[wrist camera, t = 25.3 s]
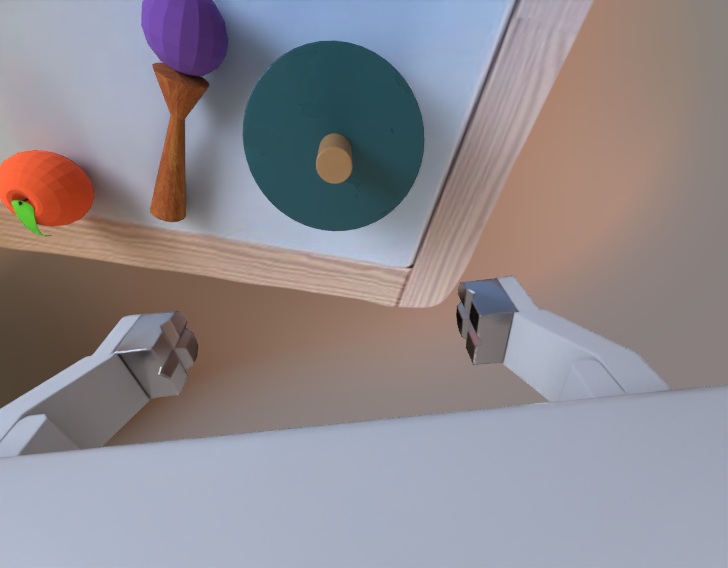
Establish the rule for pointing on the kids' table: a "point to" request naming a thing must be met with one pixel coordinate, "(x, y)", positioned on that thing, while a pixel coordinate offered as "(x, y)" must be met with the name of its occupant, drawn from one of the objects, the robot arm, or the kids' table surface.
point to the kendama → (180, 83)
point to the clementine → (45, 189)
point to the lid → (333, 135)
